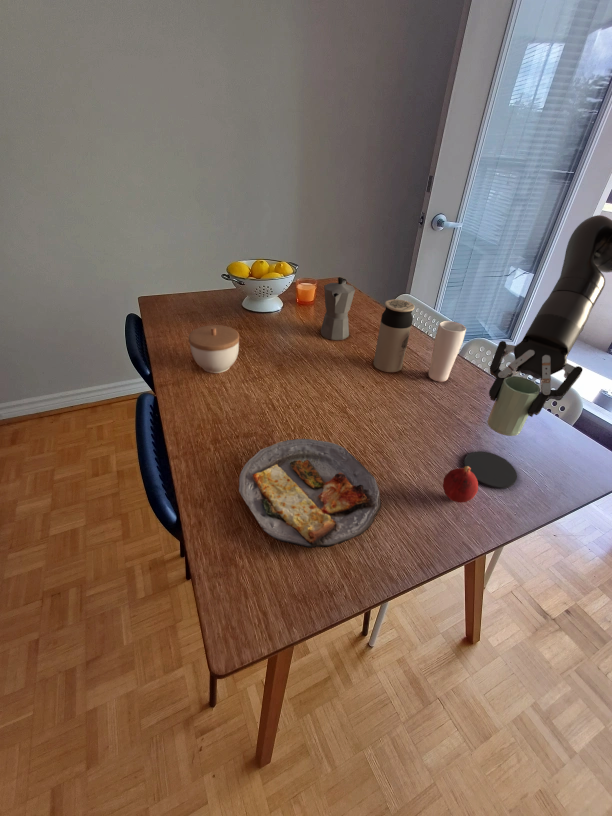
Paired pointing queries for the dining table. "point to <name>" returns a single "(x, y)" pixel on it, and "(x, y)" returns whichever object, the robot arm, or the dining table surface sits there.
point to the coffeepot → (337, 309)
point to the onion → (460, 484)
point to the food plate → (309, 493)
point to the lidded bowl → (214, 347)
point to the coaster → (491, 469)
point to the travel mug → (393, 335)
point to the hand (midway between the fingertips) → (511, 406)
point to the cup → (513, 405)
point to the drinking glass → (446, 349)
